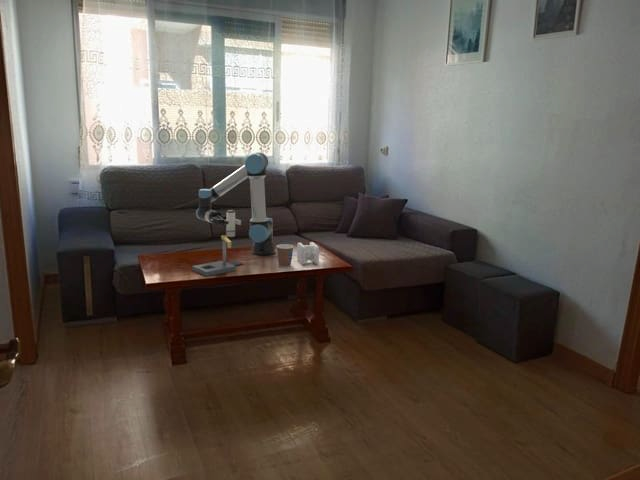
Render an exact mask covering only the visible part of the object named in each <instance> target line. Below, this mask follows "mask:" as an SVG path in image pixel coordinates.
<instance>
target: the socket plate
mask: <svg viewBox="0 0 640 480" xmlns="http://www.w3.org/2000/svg"><path fill="white" fill-rule="evenodd" d="M226 262H227V242H226V241H225V240H222V260H217V261H212V262H207V263H201V264H197V265H192V266H191V268H192V271H193V272H195V273H198V274H201V275H203V276H205V277H209V276H210V277H211V276H216V275H219V274H225V273H229V272H234V271H237V270H236V269H237V266H234V265H231V264H228V263H226Z"/></svg>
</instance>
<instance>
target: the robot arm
mask: <svg viewBox="0 0 640 480" xmlns="http://www.w3.org/2000/svg"><path fill="white" fill-rule="evenodd" d="M268 165H269V159H268V156H267V155H265V154H264V153H263V152H253V153H250V154H249V155H248V156H247V157H246V158H245V160H244V165H243V166H241V167H240V168H238V169H236V170H235V171H234V172H233V173H231V174H230V175H228V176H226V177H225V178H224V179H222V180H221V181H220V182H218V183H217V184H215V185H214V186H212V187H211V188H200V189H198V208H197V209H196V211H195V216H196V218H197V219H199V220H201V221H203V222H208V223H210V224H215V225H222V226H225V225H230V226H233V221H230V220H227V215H223V214H222V212H219V211H216V210H213V209H212V203H213V202H215V201H216V200H218V199H219V198H220V197H222V196H223V195H225V194H226V193H227V192H229V191H230V190H232V189H233V188H234V187H236V186H237V185H238V184H240V183H242V182H244V181H245V180H246V179H247V178H248V179H249V184H250V185H249V186H250V187H249V189H250V203H251V218H250V219H249V230H248V236H249V238H250V239H251V241H253V244H252V247H251V254H253V255H259V256H268V255H274V254H275V253H276V249H275V248H276V247H275V244H274V241H273V234H274V233H273V230H274V228H273V227H274V222H273V218H272V217H267V213H266V212H267V211H266V210H267V209H266V207H267V205H266V192H265V191H266V190H265V189H266V188H265V178H266V177H267V167H268ZM235 225H239V226H241V225H242V220H240V219H238V218H237V217H235Z"/></svg>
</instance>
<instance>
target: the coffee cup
mask: <svg viewBox="0 0 640 480" xmlns="http://www.w3.org/2000/svg"><path fill="white" fill-rule="evenodd" d="M294 247H295V246H294V245H293V244H290V243H289V244H287V243H283V244H282V243H280V244H277V245H276V247H275V248H276V253H277V262H278V263H277V264H278V266H279V267H281V268H289V267H291V265H292V260H293V251H294Z"/></svg>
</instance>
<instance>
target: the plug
mask: <svg viewBox="0 0 640 480" xmlns="http://www.w3.org/2000/svg"><path fill="white" fill-rule="evenodd" d="M226 216H227V220H230V221H233V226H230V225H226V224H225V225H226V228H225V232H226V234H225V235H227V238H233V237H236V231H237V230H236V224H235V218H236V212H235V210H234V209H228V210H227V211H226Z"/></svg>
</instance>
